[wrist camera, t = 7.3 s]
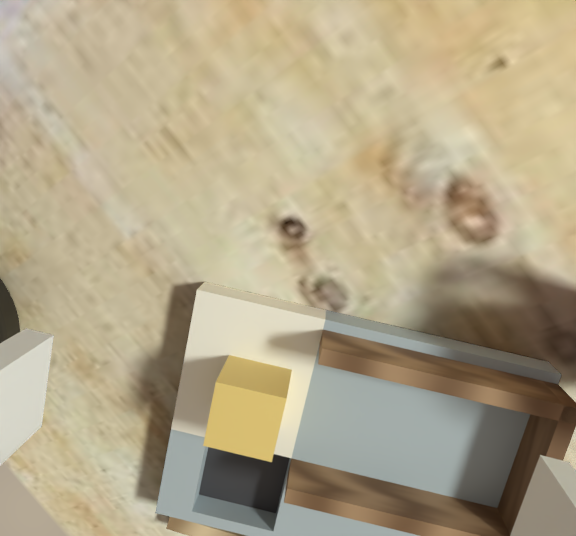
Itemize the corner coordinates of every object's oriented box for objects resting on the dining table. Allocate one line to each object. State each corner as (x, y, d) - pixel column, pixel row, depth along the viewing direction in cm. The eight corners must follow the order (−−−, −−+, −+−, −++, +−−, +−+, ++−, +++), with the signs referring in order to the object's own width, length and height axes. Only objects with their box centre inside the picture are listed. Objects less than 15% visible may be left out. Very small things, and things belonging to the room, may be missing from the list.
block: (217, 412, 43) (203, 445, 38) (229, 354, 42) (215, 381, 37) (278, 426, 43) (271, 462, 38) (292, 369, 42) (286, 398, 37)
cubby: (288, 471, 44) (283, 502, 40) (322, 329, 41) (321, 348, 37) (507, 524, 43) (524, 561, 39) (558, 384, 41) (582, 409, 37)
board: (164, 494, 48) (155, 513, 46) (204, 281, 44) (196, 289, 41) (474, 570, 47) (482, 593, 45) (548, 361, 43) (561, 374, 40)
